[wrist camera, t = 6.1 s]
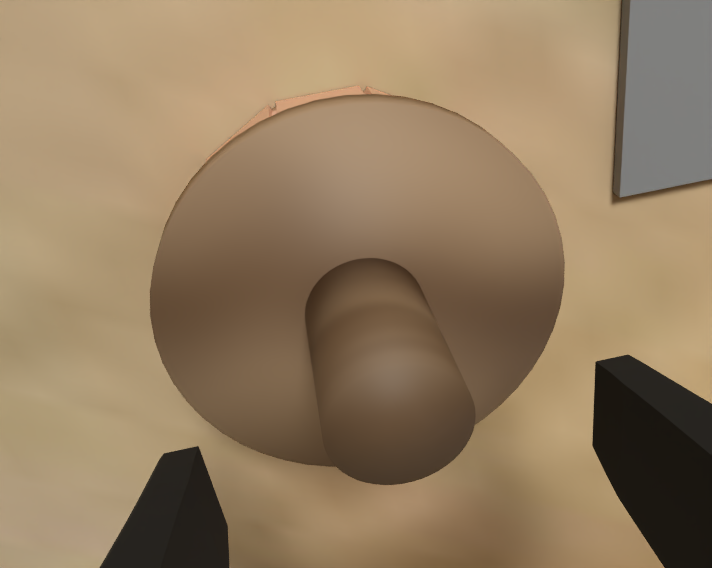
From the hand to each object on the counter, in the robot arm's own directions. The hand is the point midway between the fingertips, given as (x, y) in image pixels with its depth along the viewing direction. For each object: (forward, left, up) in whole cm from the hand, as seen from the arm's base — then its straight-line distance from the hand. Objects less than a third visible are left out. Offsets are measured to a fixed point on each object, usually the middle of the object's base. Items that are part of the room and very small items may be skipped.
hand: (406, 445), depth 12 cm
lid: (0, 0, -5) cm, 5 cm away
